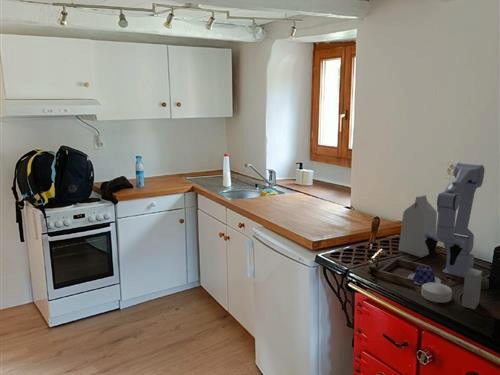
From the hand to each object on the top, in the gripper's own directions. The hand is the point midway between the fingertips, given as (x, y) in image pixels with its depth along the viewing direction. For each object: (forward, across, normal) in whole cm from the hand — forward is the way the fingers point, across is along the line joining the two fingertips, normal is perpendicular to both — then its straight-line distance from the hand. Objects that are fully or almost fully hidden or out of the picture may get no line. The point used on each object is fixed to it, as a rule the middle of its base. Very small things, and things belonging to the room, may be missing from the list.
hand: (441, 261), depth 157 cm
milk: (+10, -28, +30) cm, 42 cm away
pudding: (+11, -8, +3) cm, 14 cm away
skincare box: (+11, +13, -3) cm, 17 cm away
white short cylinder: (+11, +2, -6) cm, 13 cm away
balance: (+10, -28, 0) cm, 29 cm away
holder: (+11, -16, +1) cm, 20 cm away
